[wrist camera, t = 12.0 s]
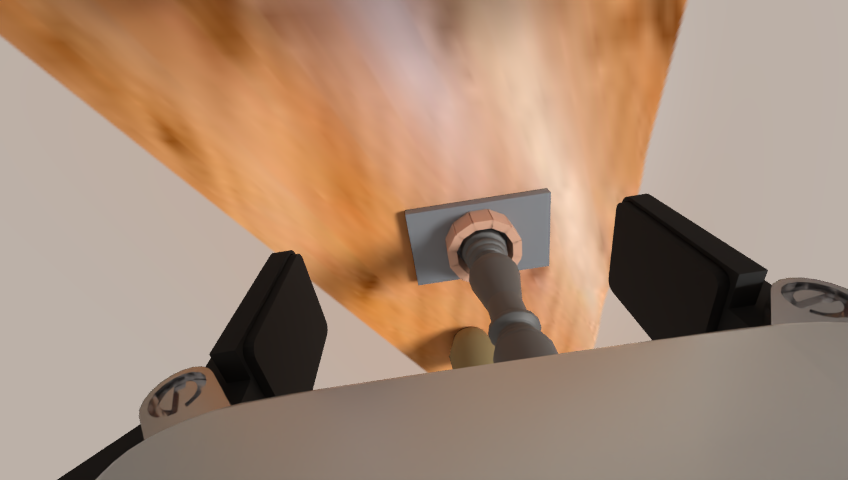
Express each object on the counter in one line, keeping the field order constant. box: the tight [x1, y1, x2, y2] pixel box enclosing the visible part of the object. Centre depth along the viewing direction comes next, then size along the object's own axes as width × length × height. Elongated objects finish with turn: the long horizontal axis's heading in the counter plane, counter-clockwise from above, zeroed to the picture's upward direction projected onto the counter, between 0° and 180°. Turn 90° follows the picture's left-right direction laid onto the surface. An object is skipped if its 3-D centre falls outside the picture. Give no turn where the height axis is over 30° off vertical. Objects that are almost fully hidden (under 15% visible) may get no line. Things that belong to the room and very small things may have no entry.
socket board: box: [405, 188, 551, 285], centre depth 52 cm, size 20×12×5 cm, turn 98°
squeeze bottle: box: [449, 327, 495, 369], centre depth 56 cm, size 8×8×18 cm
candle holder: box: [460, 228, 558, 363], centre depth 42 cm, size 6×6×25 cm
